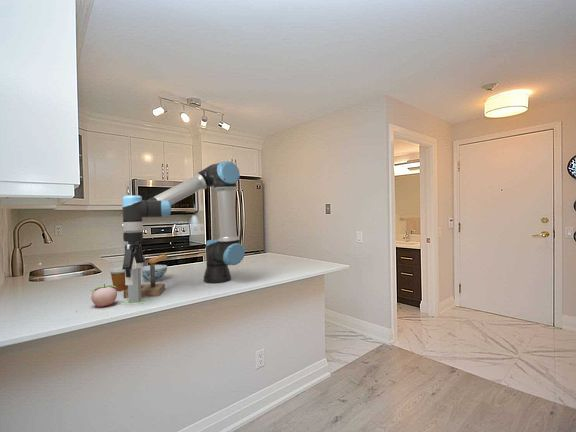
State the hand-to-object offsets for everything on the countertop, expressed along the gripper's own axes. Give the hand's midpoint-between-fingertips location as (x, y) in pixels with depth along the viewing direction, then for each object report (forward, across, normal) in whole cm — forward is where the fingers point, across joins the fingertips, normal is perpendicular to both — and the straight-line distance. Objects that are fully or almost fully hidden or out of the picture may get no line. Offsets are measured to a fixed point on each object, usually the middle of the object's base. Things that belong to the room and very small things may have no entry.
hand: (134, 281), depth 131 cm
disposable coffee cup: (+10, -23, -13) cm, 28 cm away
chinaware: (+10, -44, -3) cm, 45 cm away
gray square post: (+9, 0, 0) cm, 9 cm away
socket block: (+10, -12, +1) cm, 15 cm away
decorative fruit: (+10, +4, -10) cm, 15 cm away
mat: (+10, 0, 0) cm, 10 cm away
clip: (-6, -18, +6) cm, 20 cm away
